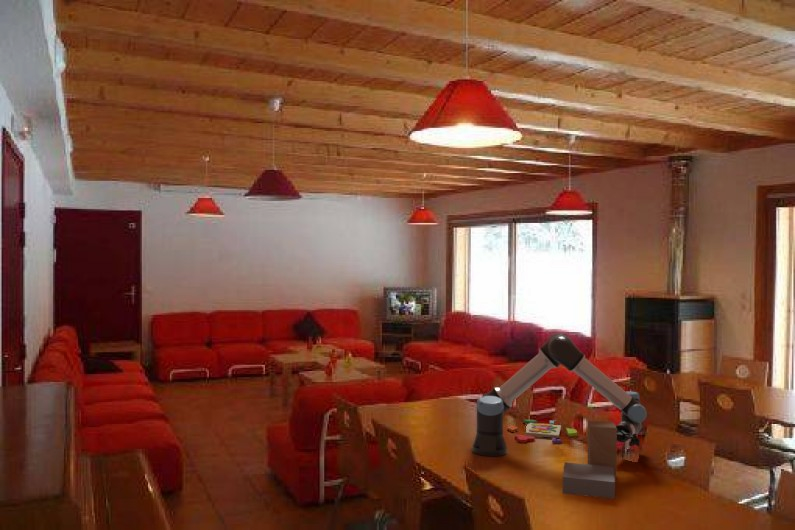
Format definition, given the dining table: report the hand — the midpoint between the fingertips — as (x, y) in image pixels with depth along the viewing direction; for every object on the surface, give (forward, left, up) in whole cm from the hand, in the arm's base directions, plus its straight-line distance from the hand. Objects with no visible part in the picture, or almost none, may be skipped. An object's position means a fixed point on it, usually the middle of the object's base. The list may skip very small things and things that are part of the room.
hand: (608, 442), depth 261 cm
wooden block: (-3, -7, -11) cm, 13 cm away
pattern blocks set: (-30, +49, -12) cm, 59 cm away
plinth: (-8, -25, -11) cm, 28 cm away
